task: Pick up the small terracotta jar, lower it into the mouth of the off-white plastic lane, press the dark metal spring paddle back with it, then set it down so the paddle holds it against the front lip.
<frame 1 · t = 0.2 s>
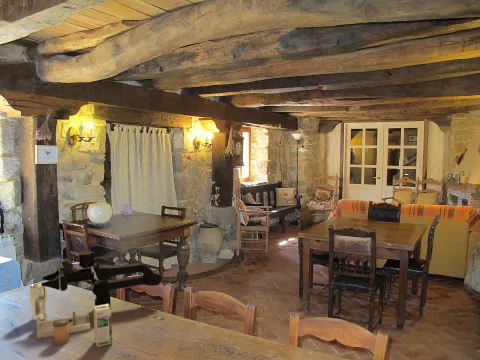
hand: (41, 281, 183), 17 cm above the table, tool horizontal, fingers open, 9 cm apart
beer glass: (39, 318, 184), on the table
syrup box: (103, 343, 161), on the table
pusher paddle: (71, 320, 174), point 3 cm above the table, slide at 0.0 cm
terracotta jar: (61, 341, 163), on the table
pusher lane: (64, 328, 174), on the table
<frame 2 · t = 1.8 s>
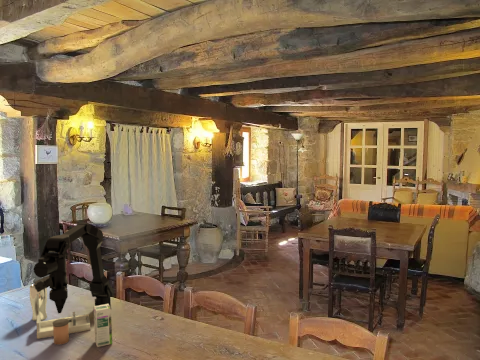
hand: (59, 308, 162), 13 cm above the table, tool pointing down, fingers open, 9 cm apart
nothing on the table moved.
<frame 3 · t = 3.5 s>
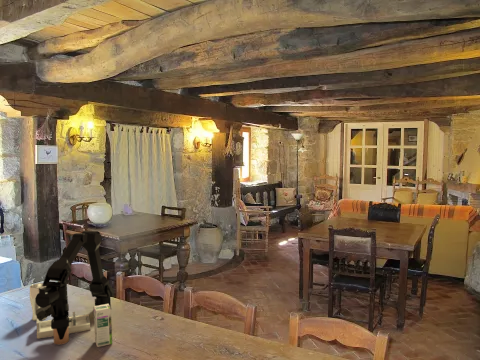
hand: (61, 336, 162), 2 cm above the table, tool pointing down, fingers closed on terracotta jar, 5 cm apart
terracotta jar: (61, 341, 163), on the table, touching gripper
everything else where it was.
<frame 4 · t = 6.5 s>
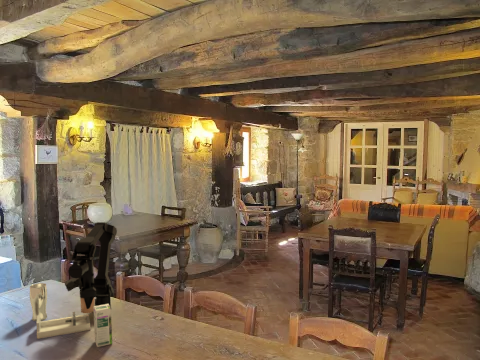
hand: (87, 306, 177), 8 cm above the table, tool pointing down, fingers closed on terracotta jar, 5 cm apart
terracotta jar: (87, 310, 177), point 6 cm above the table, touching gripper
everything else where it was.
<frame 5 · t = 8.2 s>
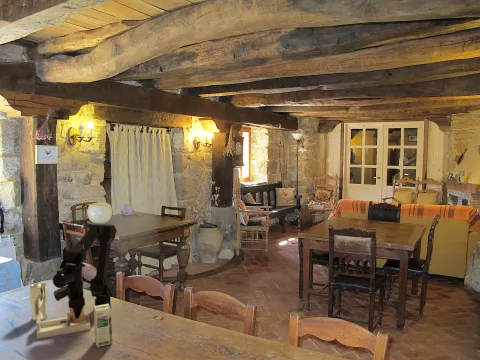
hand: (77, 315, 175), 5 cm above the table, tool pointing down, fingers closed on terracotta jar, 5 cm apart
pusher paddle: (66, 321, 174), point 3 cm above the table, slide at 2.1 cm, touching terracotta jar
terracotta jar: (77, 320, 175), point 3 cm above the table, touching gripper, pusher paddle
everything else where it was.
when the fingers open (3 cm above the table, at t = 9.6 s): terracotta jar moves 1 cm, resting on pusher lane, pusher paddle.
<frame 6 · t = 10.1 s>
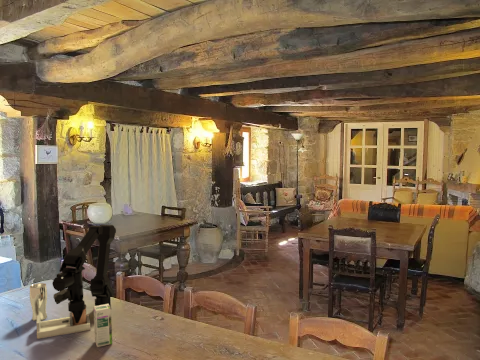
hand: (76, 318, 175), 3 cm above the table, tool pointing down, fingers open, 9 cm apart
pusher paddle: (68, 321, 174), point 3 cm above the table, slide at 1.2 cm, touching terracotta jar
terracotta jar: (79, 324, 176), point 1 cm above the table, touching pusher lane, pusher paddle
everything else where it was.
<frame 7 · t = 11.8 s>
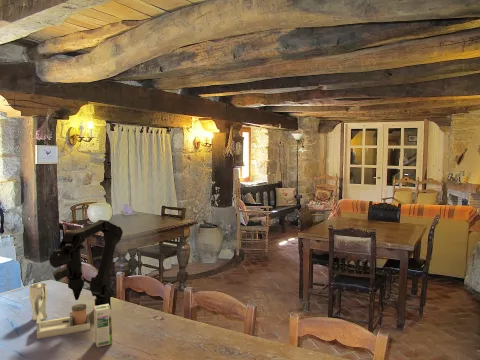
hand: (76, 296, 179), 12 cm above the table, tool pointing down, fingers open, 9 cm apart
nothing on the table moved.
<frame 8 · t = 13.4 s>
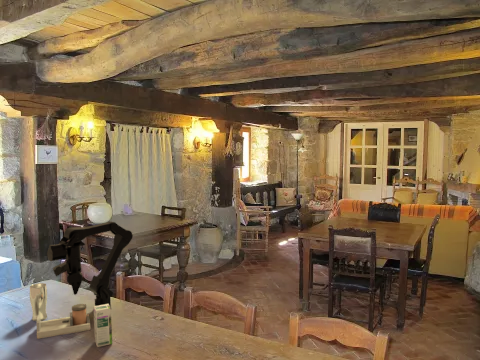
hand: (75, 291, 184), 12 cm above the table, tool pointing down, fingers open, 9 cm apart
nothing on the table moved.
at the end: terracotta jar 0.4 cm from the target spot on the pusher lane, point 0.6 cm above the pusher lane's base; terracotta jar tilted 0°; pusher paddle slide at 1.1 cm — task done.
